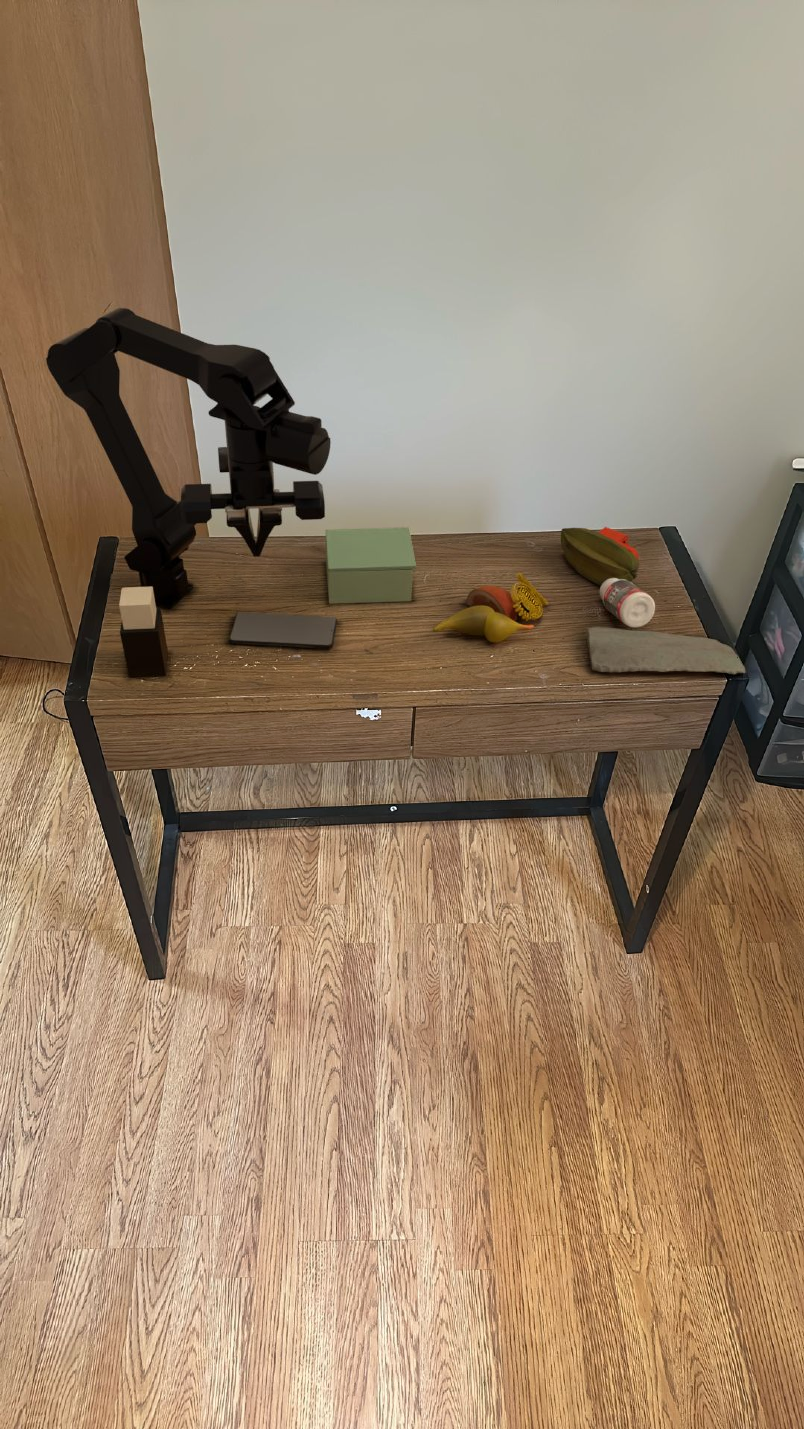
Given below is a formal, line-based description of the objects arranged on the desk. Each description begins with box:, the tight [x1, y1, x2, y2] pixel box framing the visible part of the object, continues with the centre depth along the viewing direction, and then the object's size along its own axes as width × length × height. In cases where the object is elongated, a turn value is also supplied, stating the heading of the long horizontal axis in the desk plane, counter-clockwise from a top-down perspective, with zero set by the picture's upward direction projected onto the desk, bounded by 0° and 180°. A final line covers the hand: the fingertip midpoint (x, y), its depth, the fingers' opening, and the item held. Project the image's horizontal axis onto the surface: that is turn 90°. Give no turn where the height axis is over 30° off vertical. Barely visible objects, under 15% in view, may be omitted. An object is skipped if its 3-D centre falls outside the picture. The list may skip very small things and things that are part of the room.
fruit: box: [560, 527, 640, 587], centre depth 153 cm, size 11×12×7 cm
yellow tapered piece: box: [432, 605, 535, 643], centre depth 141 cm, size 4×15×6 cm
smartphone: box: [228, 611, 338, 650], centre depth 141 cm, size 7×1×15 cm
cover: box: [325, 526, 417, 572], centre depth 148 cm, size 13×11×1 cm
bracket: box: [583, 526, 640, 561], centre depth 159 cm, size 12×4×5 cm
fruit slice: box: [465, 585, 519, 622], centre depth 146 cm, size 8×7×5 cm
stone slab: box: [585, 626, 747, 675], centre depth 140 cm, size 22×3×10 cm
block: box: [118, 586, 157, 630], centre depth 129 cm, size 4×4×4 cm
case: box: [325, 544, 414, 605], centre depth 150 cm, size 13×11×6 cm
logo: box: [509, 572, 549, 622], centre depth 145 cm, size 7×1×8 cm
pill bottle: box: [599, 578, 656, 629], centre depth 145 cm, size 5×5×10 cm
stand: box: [119, 607, 169, 679], centre depth 133 cm, size 5×5×8 cm
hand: (256, 555), depth 134 cm, fingers closed
